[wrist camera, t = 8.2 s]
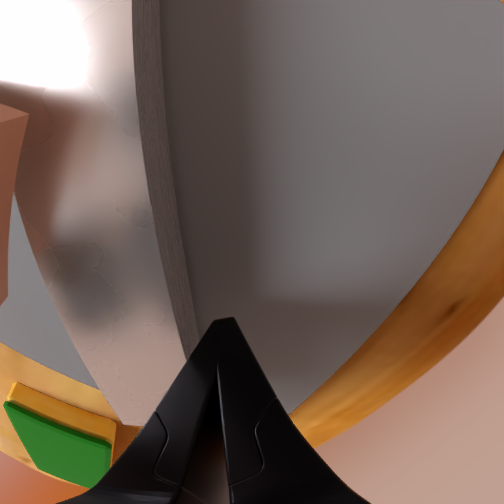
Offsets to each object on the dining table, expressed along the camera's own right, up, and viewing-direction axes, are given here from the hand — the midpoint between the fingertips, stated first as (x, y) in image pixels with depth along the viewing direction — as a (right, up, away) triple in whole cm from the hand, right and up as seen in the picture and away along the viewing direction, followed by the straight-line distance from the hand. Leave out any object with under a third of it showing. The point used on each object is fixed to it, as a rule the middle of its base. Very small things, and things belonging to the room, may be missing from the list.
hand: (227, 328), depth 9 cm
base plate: (-3, +5, -1) cm, 6 cm away
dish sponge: (-13, -12, +9) cm, 20 cm away
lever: (-3, +5, -2) cm, 6 cm away
